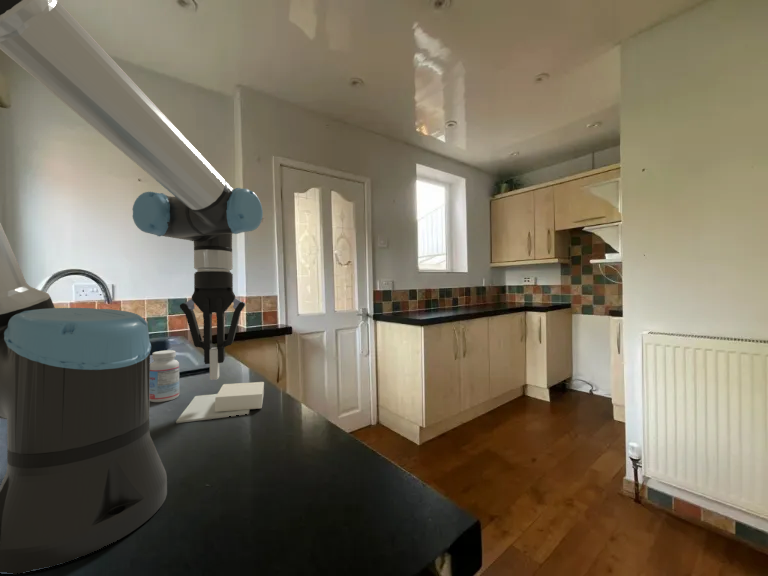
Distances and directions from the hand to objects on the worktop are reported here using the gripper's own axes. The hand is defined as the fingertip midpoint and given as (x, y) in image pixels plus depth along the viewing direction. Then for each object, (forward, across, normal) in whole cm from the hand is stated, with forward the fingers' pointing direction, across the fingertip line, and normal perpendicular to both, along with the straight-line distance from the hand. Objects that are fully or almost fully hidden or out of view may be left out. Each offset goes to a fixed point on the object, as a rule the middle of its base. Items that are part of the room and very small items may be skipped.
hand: (214, 377), depth 71 cm
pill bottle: (+7, +12, -11) cm, 18 cm away
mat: (+6, -1, -1) cm, 7 cm away
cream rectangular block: (+4, -1, 0) cm, 4 cm away
